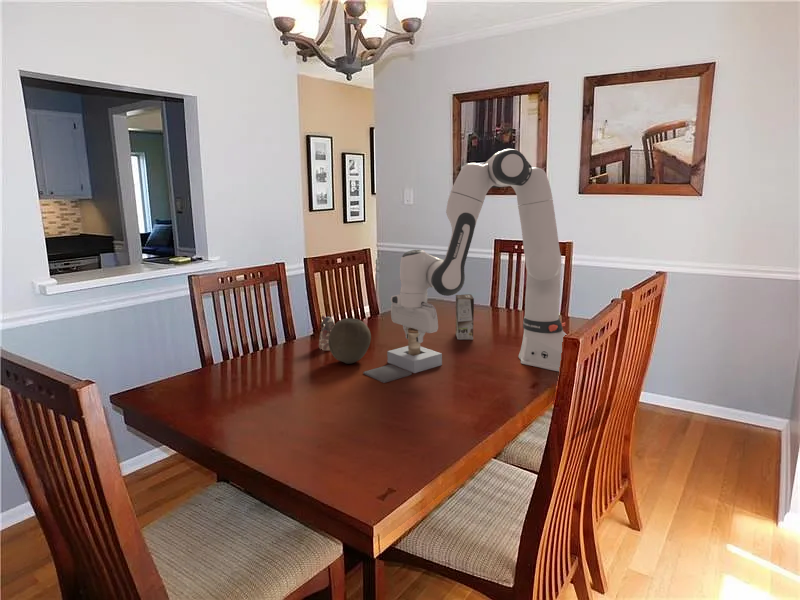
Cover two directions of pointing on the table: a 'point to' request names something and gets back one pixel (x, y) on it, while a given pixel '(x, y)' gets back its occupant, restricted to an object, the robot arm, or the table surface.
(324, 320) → the figurine
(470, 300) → the coffee box
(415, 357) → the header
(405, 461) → the table surface
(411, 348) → the peg
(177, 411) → the table surface
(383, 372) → the mat
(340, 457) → the table surface
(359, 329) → the cantaloupe
